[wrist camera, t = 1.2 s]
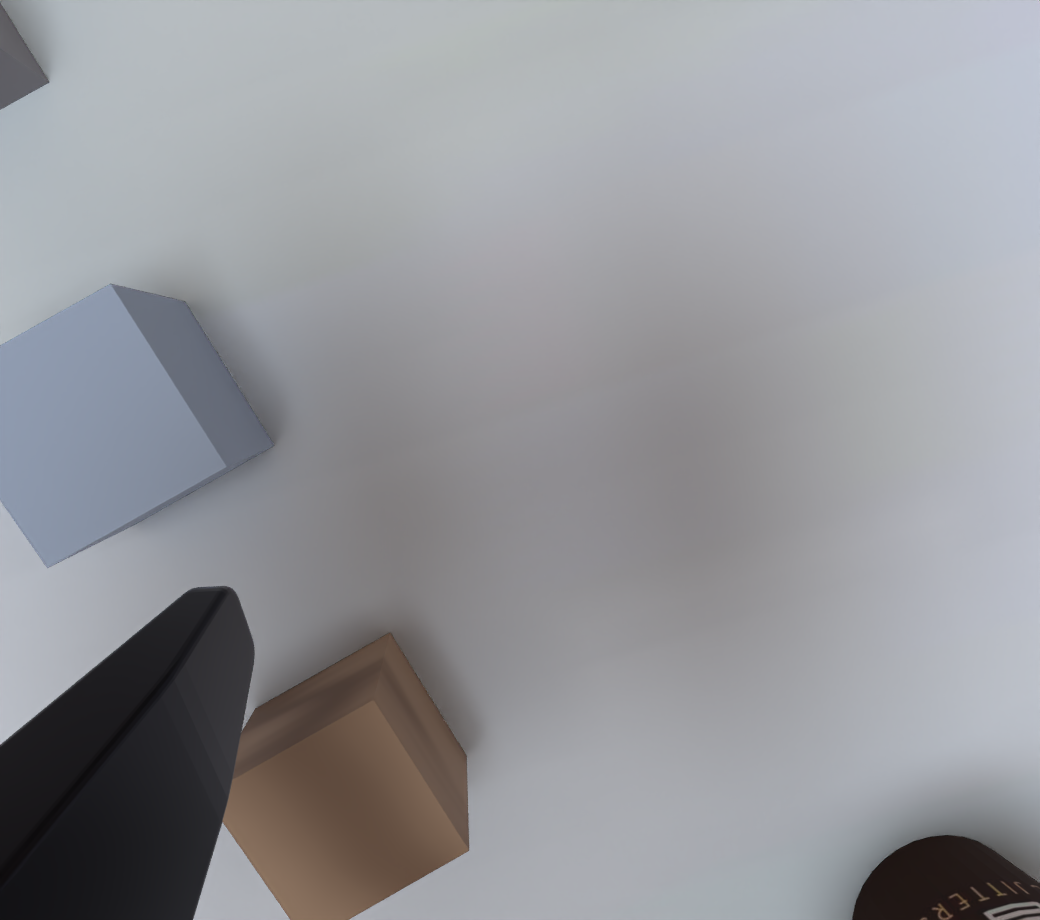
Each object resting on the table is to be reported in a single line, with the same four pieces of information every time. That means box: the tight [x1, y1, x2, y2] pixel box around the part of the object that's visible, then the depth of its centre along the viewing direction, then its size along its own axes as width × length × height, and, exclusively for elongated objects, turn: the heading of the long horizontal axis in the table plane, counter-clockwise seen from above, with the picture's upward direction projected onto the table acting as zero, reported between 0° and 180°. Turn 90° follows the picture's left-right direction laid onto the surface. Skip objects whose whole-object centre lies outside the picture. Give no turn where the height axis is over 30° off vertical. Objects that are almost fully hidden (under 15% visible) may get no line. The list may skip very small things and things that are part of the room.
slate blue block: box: [0, 284, 275, 568], centre depth 20 cm, size 5×5×5 cm
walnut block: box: [222, 633, 469, 920], centre depth 22 cm, size 5×5×5 cm
